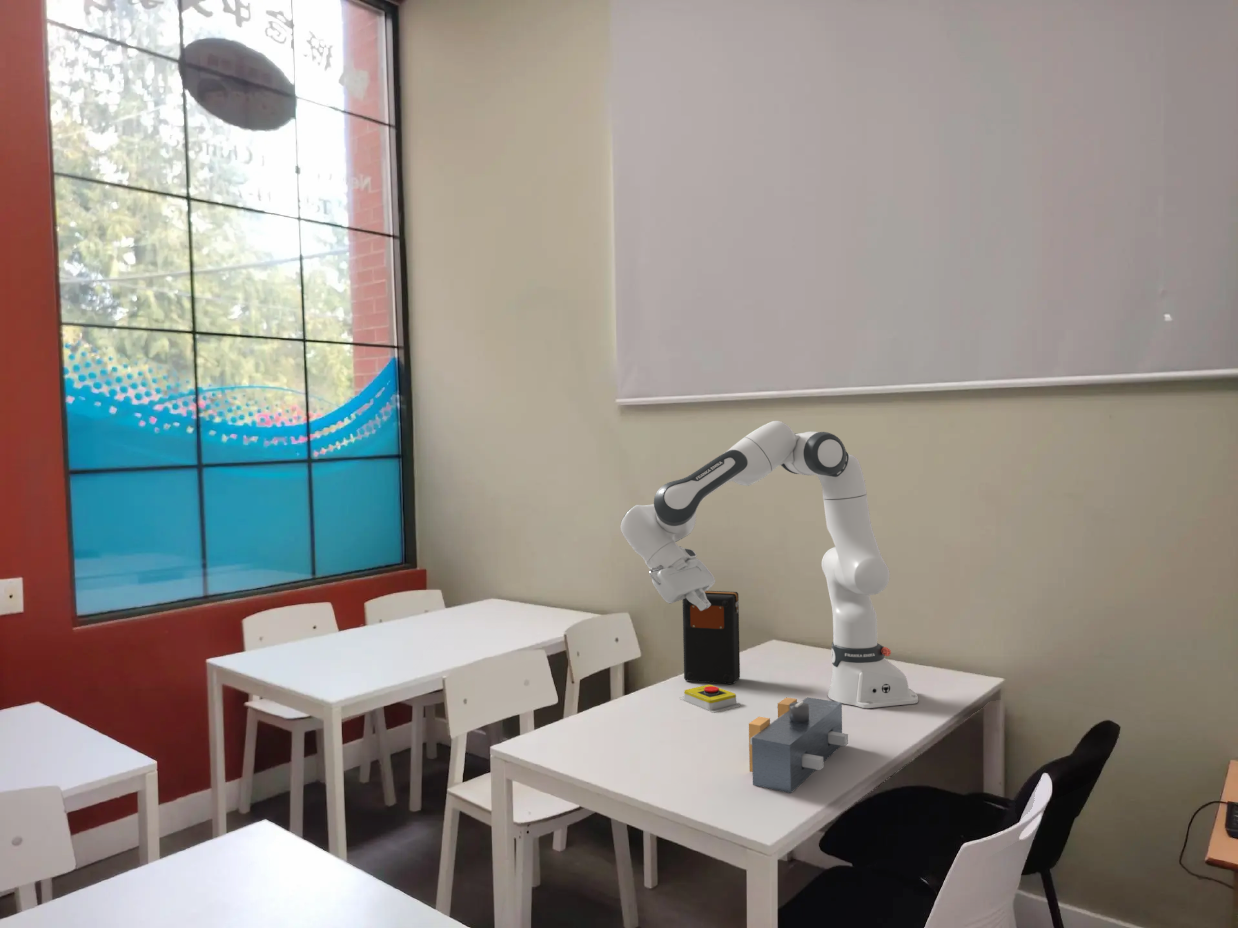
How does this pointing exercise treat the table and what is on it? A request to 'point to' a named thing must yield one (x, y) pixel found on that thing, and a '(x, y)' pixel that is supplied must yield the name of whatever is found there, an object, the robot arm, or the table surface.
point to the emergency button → (710, 698)
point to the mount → (794, 745)
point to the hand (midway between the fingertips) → (706, 607)
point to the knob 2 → (832, 736)
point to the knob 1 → (807, 759)
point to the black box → (712, 639)
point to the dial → (799, 712)
